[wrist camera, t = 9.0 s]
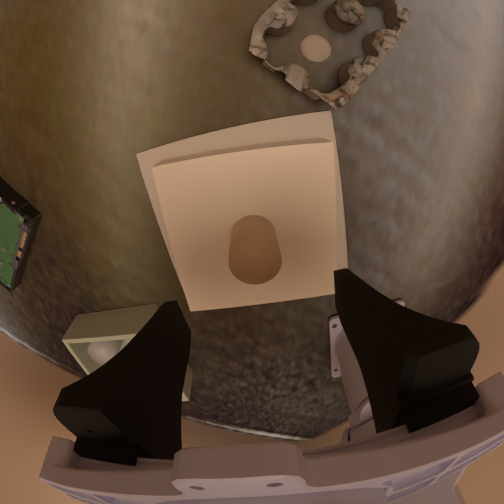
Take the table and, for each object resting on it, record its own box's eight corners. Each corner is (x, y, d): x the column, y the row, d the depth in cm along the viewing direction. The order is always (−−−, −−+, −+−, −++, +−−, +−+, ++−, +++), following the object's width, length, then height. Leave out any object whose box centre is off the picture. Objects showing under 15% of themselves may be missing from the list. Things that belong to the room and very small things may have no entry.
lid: (328, 276, 24) (348, 323, 19) (194, 293, 25) (183, 342, 20) (323, 137, 19) (352, 150, 14) (161, 159, 20) (132, 181, 14)
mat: (346, 276, 25) (348, 279, 25) (191, 306, 26) (191, 309, 26) (328, 110, 19) (330, 110, 18) (138, 153, 20) (136, 154, 19)
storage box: (193, 371, 30) (189, 400, 27) (118, 376, 31) (110, 401, 28) (157, 302, 26) (147, 332, 22) (77, 314, 27) (61, 339, 23)
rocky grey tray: (321, 115, 19) (338, 118, 15) (237, 51, 17) (235, 38, 13) (402, 28, 15) (429, 18, 12) (327, -35, 13) (342, -57, 9)
